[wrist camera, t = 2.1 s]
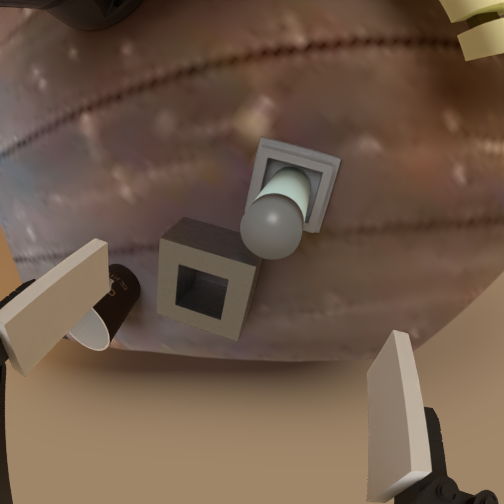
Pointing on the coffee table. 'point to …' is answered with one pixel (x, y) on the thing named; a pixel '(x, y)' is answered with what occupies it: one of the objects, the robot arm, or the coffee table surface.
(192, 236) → the port block
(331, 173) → the grey square open tray
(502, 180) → the coffee table surface
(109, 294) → the coffee mug
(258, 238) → the plug
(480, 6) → the slatted curved stool
